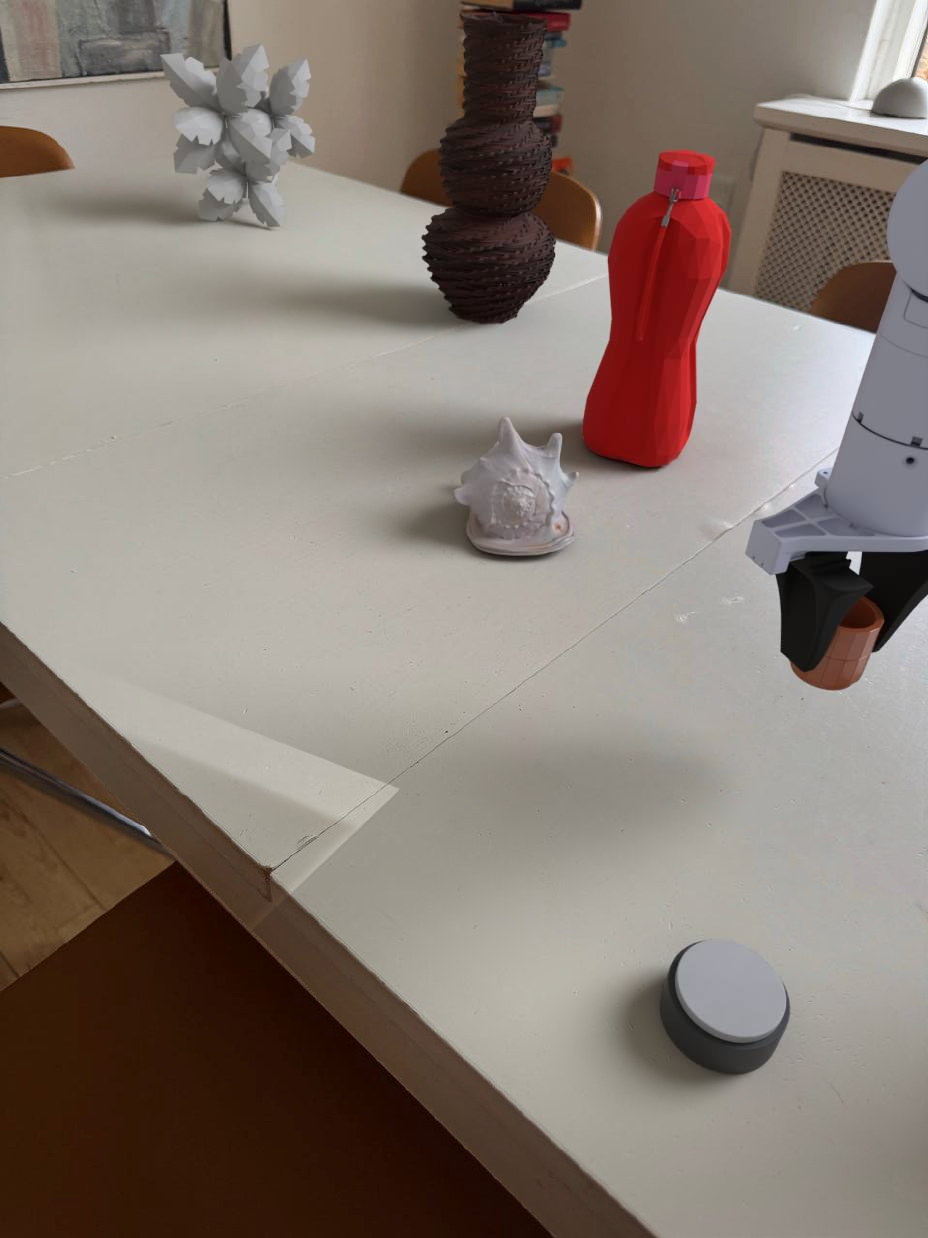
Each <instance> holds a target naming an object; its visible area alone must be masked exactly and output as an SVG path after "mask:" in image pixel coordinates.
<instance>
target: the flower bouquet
mask: <svg viewBox="0 0 928 1238" xmlns="http://www.w3.org/2000/svg"><path fill="white" fill-rule="evenodd" d="M159 57H160V61H161V66H162V70H163V75H164V78H166V79H167V80H168V81H169V87H170V88H171V89H172V90H173V92H174V93H175V94H176V96H177V97H178V98H179V99H182V100H183V102H184V104H185V105H186V106H187V107H182V108H178V109H177V110H175V113H177V114H174V115H171V118H172V122H173V125H174V128H175V129H176V130H177V131H179V132H180V133H181V134H180V136H179V137H178V140H177V142H176V144H175V147H177V149H176V150H175V151H174V152H173V153H172V154H173V164H174V172H175V173H177V174H178V173H179V174H188V175H189V174H190V175H197V174H198V168H199V169H201V170H202V171H203V172H204V171H207V170H208V169H210V168H212V167H213V166H215V164H218V165H219V166H220V167H221V168H217V169H211V171H209V172H208V174H209V175H210V176H206V177H205V181H206V185H207V187H206V188H205V189H204V191H203V193H202V194H201V195H202V197H203V198H202V199H200V200H198V217H197V218H198V219H202V220H207V221H211V222H217V220H218V218H219V219H221V221H224V220H226V219H229V218H232V217H233V213H238V212H239V211H240V209H241V208H242V207H243V205H244V200H243V199H248V202H249V207H250V209H251V211H252V213H253V214H254V215H255V217H256V219H257V220H258V221H259V222H260V223H261V224H262V225H265V224H266V225H267V227H268V228H278V227H282V224H283V220H284V216H285V213H286V210H285V209H284V208H282V207H281V206H282V205H284V204H285V203H284V200H283V196H282V194H281V193H279V192H277V191H278V190H279V188H277V187H276V186H275V185H276V182H277V181H278V177H279V173H280V172H281V166H286V165H287V162H288V160H289V158H290V156H291V157H293V158H297V155H298V156H299V158H300V159H301V160H302V159H305V158H307V157H309V156H312V155H314V154H315V145H316V137H314V136H312V135H311V134H313V130H312V128H311V126H310V125H309V123H306V122H304V121H305V120H304V119H303V118H301V117H299V116H297V115H293V113H294V112H297V111H298V109H299V108H301V106H302V105H303V104H304V101H303V98H304V99H305V98H308V95H309V91H310V88H311V85H310V83H309V82H308V81H309V80H310V79H311V78H312V75H311V70H310V66H309V62H308V58H305V57H304V58H300V59H295V60H290V62H289V65H284V66H283V67H281V68H278V70H277V71H275V72H274V73H273V75H272V78H271V80H270V84H269V87H268V80H269V75H268V74H267V73H266V72H265V71H264V70H266V69H268V68H269V67H270V64H269V61H268V57H267V54H266V51H265V47H264V45H263V42H260V43H255V44H253V45H249V46H245V47H243V50H242V52H241V53H239V52H237V53H236V54H235V55H234V57H233V58H232V59H231V60H229V59H228V58H227V57H225V56H223V57H222V60H221V61H220V62H219V67H218V70H217V74H216V76H215V74H214V73H213V72H212V70H205V68H204V62H201V61H199V60H197V59H196V58H194V57H192V56H189V57H188V58H187V59H185V58H184V55H183V53H182V52H176V53H166V54H159ZM268 93H269V94H268ZM268 177H272V179H271V180H270V182H268V181H269V178H268Z"/></svg>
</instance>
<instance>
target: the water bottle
mask: <svg viewBox="0 0 928 1238" xmlns="http://www.w3.org/2000/svg"><path fill="white" fill-rule="evenodd" d="M715 165H716V160H715V158H714V157H712V156H711V155H709V154H705V153H702V152H697V151H693V150H690V149H675V150H674V149H673V150H664V151H662V152H659V154H658V160H657V166H656V171H655V176H654V183H653V189H652V190H653V191H651V192H649V193H647V194H645V195H643V196H641V197H640V198H638V199H636V200H635V202H634V203H632V204H631V205H630V206H629V207H628V208H626V210H625V212H624V213H623V214H622V216H621V217H620V219H619V220H618V222H617V223H616V225H615V229H614V233H613V236H612V240H611V244H610V248H609V252H608V255H607V258H606V259H607V273H608V287H609V302H610V313H611V314H610V315H611V320H610V329H609V338H608V342H607V344H606V347H605V349H604V352H603V355H602V357H601V360H600V362H599V365H598V367H597V371H596V373H595V376H594V378H593V381H592V383H591V386H590V388H589V391H588V394H587V396H586V399H585V406H584V410H583V411H584V412H583V418H582V427H581V433H582V439H583V440H582V441H583V443H584V444H585V445H586V446H587V447H588V449H589V450H591V451H592V452H593V453H594V454H596V455H597V456H601V457H605V458H609V459H612V460H613V459H614V460H618V461H622V462H626V463H630V464H632V465H635V466H636V465H637V466H640V467H644V468H648V469H649V468H655V467H657V468H658V467H665V466H667V465H669V464H670V463H671V462H673V461H675V460H677V459H678V458H679V457H680V456H681V455H680V454H681V453H682V452H683V450H684V448H685V447H686V445H687V443H688V442H689V438H690V435H691V433H692V430H693V424H694V419H695V414H696V409H697V403H698V395H697V394H698V390H697V387H698V386H697V385H698V383H697V380H698V379H697V375H698V373H697V372H698V371H697V343H698V339H699V335H700V332H701V328H702V323H703V321H704V319H705V317H706V315H707V312H708V310H709V308H710V305H711V303H712V301H713V299H714V297H715V294H716V292H717V289H718V288H719V286H720V283H721V281H722V279H723V277H724V274H725V273H726V269H727V268H728V263H729V254H730V248H731V247H730V246H731V239H732V229H731V226H730V223H729V219H728V215H727V213H726V212H725V211H724V210H723V209H722V208H721V207H720V206H719V205H718V204H717V203H716V202H714V200H712V199H711V198H710V197H709V192H710V186H711V182H712V178H713V174H714V170H715Z"/></svg>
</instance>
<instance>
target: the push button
mask: <svg viewBox="0 0 928 1238" xmlns="http://www.w3.org/2000/svg"><path fill="white" fill-rule="evenodd" d="M659 998H660V999H659V1012H660V1018H661V1021H662V1024H663V1027H664V1029H665V1031H666V1033H667V1034H668V1037H669V1039H670V1040H671V1041H672V1043H673V1044H674V1045H675V1046H676V1048H678V1050H679V1051H680V1052H682V1054H683V1055H685V1056H686V1057H687V1058H688V1059H690V1060H691V1061H693V1062H694V1063H696V1064H698V1065H699V1066H701V1067H704V1068H705V1069H708V1070H710V1071H714V1072H716V1073H723V1074H731V1075H737V1074H745V1073H750V1072H753V1071H755V1070H758V1068H761V1067H762V1066H764V1065H765V1064H766V1063H767V1062H769V1060H770V1059H771V1058H772V1056H773V1055H774V1053H775V1051H776V1049H777V1047H778V1046H779V1044H780V1042H781V1039H782V1037H783V1036H784V1033H785V1031H786V1029H787V1027H788V1024H789V1022H790V1017H791V1002H790V997H789V993H788V990H787V988H786V986H785V983H784V981H783V980H782V978H781V976H780V974H779V973H778V972H777V970H776V968H775V967H774V966H773V965H772V964H771V963H770V962H769V961H768V959H766V957H764V956H763V955H762V954H760V953H759V952H758V951H757V950H755V949H753V948H751V947H750V946H748V945H746V944H743V943H741V942H739V941H735V940H730V939H725V938H723V939H722V938H715V939H714V938H712V939H711V938H710V939H704V940H699V941H696V942H693V943H691V944H689V945H687V946H686V947H684V948H683V949H681V950H680V951H679V952H678V953H677V954H676V956H674V958H673V959H672V962H671V964H670V966H669V968H668V972H667V974H666V978H665V981H664V984H663V986H662V990H661V994H660V997H659Z"/></svg>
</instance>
